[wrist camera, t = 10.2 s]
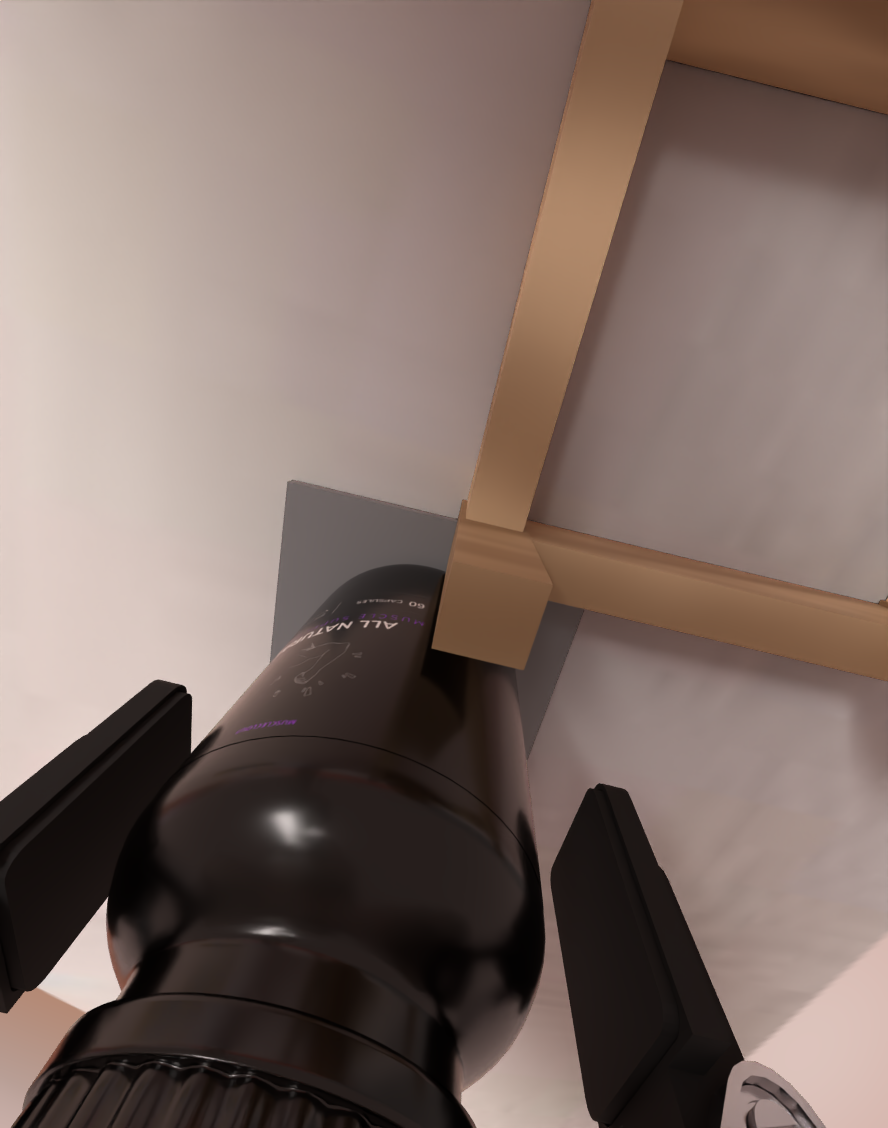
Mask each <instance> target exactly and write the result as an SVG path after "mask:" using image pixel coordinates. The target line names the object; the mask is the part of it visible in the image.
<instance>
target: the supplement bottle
mask: <svg viewBox="0 0 888 1128" xmlns="http://www.w3.org/2000/svg"><path fill="white" fill-rule="evenodd" d="M445 575H446V572H445V571H443V570H440V569H436V568H433V567H429V566H423V565H415V564H395V565H387V566H382V567H378V568H374V569H371V570H368V571H365V572H363V573H361V574H358V575H357V576H355V577H353V578H351V579H350V580H348V581H347V582H345V583H344V584H343V585H341V586H340V587H339V588H338V589H337V590H335V591H334V592H333V593H332V594H331V595H330V596H329V597H328V598H327V600H326V601H325V602H324V603H323V604H322V605H321V606H320V607H319V608H318V609H317V610H316V611H315V613H314V614H313V615H312V616H311V617H310V618H309V619H308V621H307V622H306V623H305V624H304V625H303V626H302V627H301V629H300V630H299V631H298V632H297V633H296V634H295V635H294V637H293V638H292V639H291V640H290V641H289V642H288V643H287V645H286V646H285V647H284V648H283V649H282V650H281V651H280V653H279V654H278V655H277V656H276V657H275V658H274V659H273V660H272V662H271V663H270V664H269V665H268V666H267V667H266V668H265V670H264V671H263V672H262V673H261V674H260V675H259V676H258V678H257V679H256V680H255V681H254V682H253V683H252V684H251V686H250V687H249V688H248V689H247V690H246V691H245V692H244V694H243V695H242V696H241V697H240V698H239V699H238V700H237V702H236V703H235V704H234V705H233V706H232V707H231V708H230V710H229V711H228V712H227V713H226V714H225V715H224V716H223V718H222V719H221V720H220V721H219V722H218V723H217V724H216V726H215V727H214V728H213V729H212V730H211V731H210V732H209V733H208V735H207V736H206V737H205V738H204V739H203V740H202V741H201V743H200V744H199V745H198V746H197V747H196V748H195V749H194V751H193V752H192V753H191V754H190V755H189V756H188V757H187V759H186V760H185V761H184V762H183V763H182V764H181V765H180V767H179V768H178V769H177V770H176V771H175V772H174V773H173V775H172V776H171V777H170V778H169V779H168V780H167V782H166V783H165V784H164V785H163V786H162V787H161V789H160V790H159V792H158V793H157V794H156V795H155V797H154V798H153V799H152V800H151V801H150V803H149V804H148V805H147V806H146V808H145V809H144V810H143V812H142V813H141V814H140V816H139V817H138V819H137V820H136V822H135V823H134V825H133V826H132V828H131V830H130V832H129V834H128V836H127V838H126V840H125V842H124V845H123V847H122V849H121V852H120V854H119V857H118V860H117V863H116V866H115V870H114V874H113V877H112V881H111V885H110V890H109V896H108V903H107V914H106V930H107V941H108V948H109V953H110V958H111V962H112V966H113V969H114V972H115V975H116V978H117V980H118V983H119V986H120V989H121V993H120V995H119V996H118V998H117V999H116V1000H115V1001H112V1002H109V1003H106V1004H103V1005H101V1006H98V1007H96V1008H94V1009H92V1010H91V1011H89V1012H87V1013H86V1014H84V1015H83V1016H82V1017H80V1018H79V1019H78V1020H77V1021H76V1022H75V1023H74V1024H73V1025H72V1026H71V1027H70V1029H69V1030H68V1032H67V1033H66V1035H65V1036H64V1038H63V1039H62V1040H61V1042H60V1043H59V1045H58V1046H57V1048H56V1049H55V1051H54V1052H53V1054H52V1055H51V1057H50V1058H49V1060H48V1061H47V1063H46V1064H45V1066H44V1067H43V1069H42V1070H41V1071H40V1073H39V1074H38V1076H37V1077H36V1079H35V1080H34V1082H33V1083H32V1085H31V1086H30V1088H29V1089H28V1091H27V1093H26V1096H25V1100H24V1104H23V1111H22V1113H21V1114H20V1115H19V1117H18V1118H17V1120H16V1121H15V1122H14V1124H13V1125H12V1127H11V1128H476V1126H475V1124H474V1122H473V1120H472V1119H471V1117H470V1115H469V1114H468V1112H467V1111H466V1110H465V1108H464V1107H463V1106H462V1105H461V1092H463V1091H464V1090H466V1089H467V1088H468V1087H470V1086H471V1085H473V1084H474V1083H475V1082H477V1081H478V1080H479V1079H481V1078H482V1077H483V1076H484V1075H485V1074H486V1073H487V1072H488V1071H490V1070H491V1069H492V1068H493V1067H494V1066H495V1065H496V1064H497V1063H498V1062H499V1061H500V1059H501V1058H502V1057H503V1056H504V1055H505V1053H506V1052H507V1051H508V1050H509V1048H510V1047H511V1045H512V1044H513V1042H514V1041H515V1039H516V1038H517V1036H518V1034H519V1033H520V1031H521V1029H522V1027H523V1025H524V1023H525V1021H526V1019H527V1017H528V1014H529V1012H530V1009H531V1006H532V1004H533V1001H534V999H535V996H536V993H537V989H538V986H539V982H540V977H541V973H542V968H543V963H544V953H545V925H544V914H543V899H542V890H541V880H540V872H539V863H538V855H537V846H536V838H535V829H534V821H533V813H532V804H531V796H530V787H529V779H528V771H527V762H526V754H525V745H524V737H523V729H522V720H521V712H520V703H519V695H518V687H517V678H516V670H515V668H512V667H508V666H503V665H499V664H495V663H491V662H486V661H482V660H478V659H474V658H470V657H465V656H461V655H457V654H453V653H448V652H444V651H440V650H436V649H432V643H433V638H434V632H435V627H436V622H437V617H438V611H439V606H440V601H441V596H442V590H443V585H444V580H445Z"/></svg>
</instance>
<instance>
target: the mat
mask: <svg viewBox="0 0 888 1128" xmlns="http://www.w3.org/2000/svg"><path fill="white" fill-rule="evenodd" d="M457 521H458V519H454V518H450V517H446V516H441V515H437V514H433V513H429V512H425V511H420V510H416V509H412V508H408V507H404V506H400V505H395V504H391V503H387V502H383V501H379V500H375V499H370V498H366V497H362V496H358V495H354V494H350V493H345V492H341V491H337V490H333V489H329V488H324V487H320V486H316V485H312V484H308V483H304V482H299V481H295V480H291V481H288V482H287V492H286V502H285V513H284V523H283V533H282V543H281V554H280V564H279V574H278V585H277V595H276V605H275V615H274V626H273V636H272V646H271V657H270V663H271V662H272V660H273V659H274V658H275V657H276V656H277V655H278V654H279V653H280V651H281V650H282V649H283V648H284V647H285V646H286V645H287V643H288V642H289V641H290V640H291V639H292V638H293V637H294V635H295V634H296V633H297V632H298V631H299V630H300V629H301V627H302V626H303V625H304V624H305V623H306V622H307V621H308V619H309V618H310V617H311V616H312V615H313V614H314V613H315V611H316V610H317V609H318V608H319V607H320V606H321V605H322V604H323V603H324V602H325V601H326V600H327V598H328V597H329V596H330V595H331V594H332V593H333V592H334V591H335V590H337V589H338V588H339V587H340V586H341V585H343V584H344V583H345V582H347V581H348V580H350V579H351V578H353V577H355V576H357V575H358V574H361V573H363V572H365V571H368V570H371V569H374V568H378V567H382V566H387V565H395V564H415V565H423V566H429V567H433V568H436V569H440V570H443V571H445V572H446V569H447V564H448V559H449V554H450V550H451V546H452V542H453V538H454V534H455V530H456V526H457ZM583 611H584V609H582V608H578V607H573V606H569V605H565V604H561V603H557V602H553V601H547V604H546V607H545V610H544V613H543V616H542V619H541V622H540V625H539V628H538V630H537V633H536V636H535V639H534V642H533V645H532V648H531V651H530V654H529V657H528V660H527V662H526V665H525V668H524V670H520V669H516V668H515V670H516V678H517V687H518V695H519V703H520V712H521V720H522V729H523V737H524V745H525V754H526V762H527V759H528V756H529V754H530V751H531V748H532V746H533V743H534V741H535V738H536V735H537V733H538V730H539V727H540V725H541V722H542V719H543V717H544V714H545V712H546V709H547V706H548V704H549V701H550V698H551V696H552V693H553V690H554V688H555V685H556V683H557V680H558V677H559V675H560V672H561V669H562V667H563V664H564V662H565V659H566V656H567V654H568V651H569V648H570V646H571V643H572V640H573V638H574V635H575V633H576V630H577V627H578V625H579V622H580V619H581V617H582V614H583Z"/></svg>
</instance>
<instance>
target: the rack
mask: <svg viewBox="0 0 888 1128" xmlns="http://www.w3.org/2000/svg"><path fill="white" fill-rule="evenodd" d="M666 59H667V60H671V61H675V62H679V63H683V64H687V65H691V66H695V67H699V68H703V69H707V70H711V71H715V72H719V73H723V74H727V75H731V76H735V77H739V78H743V79H747V80H751V81H755V82H759V83H763V84H767V85H771V86H775V87H779V88H784V89H788V90H792V91H796V92H800V93H804V94H808V95H812V96H816V97H820V98H824V99H828V100H832V101H836V102H840V103H844V104H848V105H852V106H856V107H860V108H864V109H868V110H872V111H876V112H880V113H884V114H888V0H592V1H591V5H590V9H589V13H588V17H587V21H586V25H585V29H584V33H583V37H582V41H581V45H580V49H579V53H578V57H577V61H576V65H575V69H574V73H573V77H572V81H571V85H570V89H569V93H568V97H567V101H566V105H565V109H564V113H563V117H562V121H561V125H560V130H559V134H558V138H557V142H556V146H555V150H554V154H553V158H552V162H551V166H550V170H549V174H548V178H547V182H546V186H545V190H544V194H543V198H542V202H541V206H540V210H539V214H538V218H537V222H536V226H535V230H534V234H533V238H532V242H531V246H530V250H529V254H528V258H527V262H526V266H525V271H524V275H523V279H522V283H521V287H520V291H519V295H518V299H517V303H516V307H515V311H514V315H513V319H512V323H511V327H510V331H509V335H508V339H507V343H506V347H505V351H504V355H503V359H502V363H501V367H500V371H499V375H498V379H497V383H496V387H495V391H494V395H493V399H492V403H491V407H490V411H489V416H488V420H487V424H486V428H485V432H484V436H483V440H482V444H481V448H480V452H479V456H478V460H477V464H476V468H475V472H474V476H473V480H472V484H471V488H470V492H469V496H468V500H462V504H461V508H460V513H459V517H458V521H457V526H456V530H455V534H454V538H453V542H452V546H451V550H450V554H449V559H448V564H447V569H446V575H445V580H444V585H443V590H442V596H441V601H440V606H439V611H438V617H437V622H436V627H435V632H434V638H433V643H432V649H436V650H440V651H444V652H448V653H453V654H457V655H461V656H465V657H470V658H474V659H478V660H482V661H486V662H491V663H495V664H499V665H503V666H508V667H512V668H516V669H520V670H524V668H525V665H526V662H527V660H528V657H529V654H530V651H531V648H532V645H533V642H534V639H535V636H536V633H537V630H538V628H539V625H540V622H541V619H542V616H543V613H544V610H545V607H546V604H547V601H553V602H557V603H561V604H565V605H569V606H573V607H578V608H582V609H586V610H590V611H594V612H599V613H603V614H607V615H611V616H615V617H620V618H624V619H628V620H632V621H636V622H641V623H645V624H649V625H653V626H657V627H662V628H666V629H670V630H674V631H678V632H683V633H687V634H691V635H695V636H699V637H704V638H708V639H712V640H716V641H720V642H724V643H729V644H733V645H737V646H741V647H745V648H750V649H754V650H758V651H762V652H766V653H771V654H775V655H779V656H783V657H787V658H792V659H796V660H800V661H804V662H808V663H813V664H817V665H821V666H825V667H829V668H834V669H838V670H842V671H846V672H850V673H855V674H859V675H863V676H867V677H871V678H876V679H880V680H884V681H888V598H887V600H886V601H883V600H881V601H880V602H879V604H875V603H871V602H867V601H863V600H859V599H855V598H850V597H846V596H842V595H838V594H834V593H830V592H825V591H821V590H817V589H813V588H809V587H805V586H800V585H796V584H792V583H788V582H784V581H780V580H775V579H771V578H767V577H763V576H759V575H755V574H750V573H746V572H742V571H738V570H734V569H730V568H725V567H721V566H717V565H713V564H709V563H705V562H700V561H696V560H692V559H688V558H684V557H680V556H675V555H671V554H667V553H663V552H659V551H655V550H650V549H646V548H642V547H638V546H634V545H630V544H625V543H621V542H617V541H613V540H609V539H605V538H600V537H596V536H592V535H588V534H584V533H579V532H575V531H571V530H567V529H563V528H559V527H554V526H550V525H546V524H542V523H538V522H534V521H529V520H527V517H528V514H529V511H530V507H531V504H532V501H533V497H534V494H535V491H536V487H537V484H538V481H539V478H540V474H541V471H542V468H543V464H544V461H545V458H546V454H547V451H548V448H549V444H550V441H551V438H552V435H553V431H554V428H555V425H556V421H557V418H558V415H559V411H560V408H561V405H562V401H563V398H564V395H565V392H566V388H567V385H568V382H569V378H570V375H571V372H572V368H573V365H574V362H575V358H576V355H577V352H578V349H579V345H580V342H581V339H582V335H583V332H584V329H585V325H586V322H587V319H588V315H589V312H590V309H591V306H592V302H593V299H594V296H595V292H596V289H597V286H598V282H599V279H600V276H601V272H602V269H603V266H604V263H605V259H606V256H607V253H608V249H609V246H610V243H611V239H612V236H613V233H614V229H615V226H616V223H617V220H618V216H619V213H620V210H621V206H622V203H623V200H624V196H625V193H626V190H627V186H628V183H629V180H630V177H631V173H632V170H633V167H634V163H635V160H636V157H637V153H638V150H639V147H640V143H641V140H642V137H643V134H644V130H645V127H646V124H647V120H648V117H649V114H650V110H651V107H652V104H653V100H654V97H655V94H656V91H657V87H658V84H659V81H660V77H661V74H662V71H663V67H664V64H665V61H666Z"/></svg>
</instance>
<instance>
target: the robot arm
mask: <svg viewBox="0 0 888 1128" xmlns="http://www.w3.org/2000/svg"><path fill="white" fill-rule="evenodd" d="M191 723H192V696H191V694H187V691H186V687H185V686H183V685H179V684H175V683H171V682H167V681H162V680H155V681H153V682H152V683H150V684H149V685H148V686H146V687H145V688H144V689H143V690H141V691H140V692H139V693H138V694H136V695H135V696H134V697H133V698H131V699H130V700H129V701H128V702H127V703H125V704H124V705H123V706H122V707H120V708H119V709H118V710H117V711H115V712H114V713H113V714H112V715H110V716H109V717H108V718H107V719H106V720H104V721H103V722H102V723H101V724H99V725H98V726H97V727H96V728H94V729H93V730H92V731H91V732H89V733H88V734H87V735H85V736H83V737H81V738H80V739H78V740H77V741H75V742H74V743H73V744H71V745H70V746H69V747H68V748H66V749H65V750H64V751H63V752H61V753H60V754H59V755H58V756H56V757H55V758H54V759H53V760H51V761H50V762H49V763H48V764H46V765H45V766H44V767H43V768H41V769H40V770H39V771H38V772H37V773H35V774H34V775H33V776H32V777H30V778H29V779H28V780H27V781H25V782H24V783H23V784H22V785H20V786H19V787H18V788H17V789H15V790H14V791H13V792H12V793H10V794H9V795H8V796H7V797H5V798H4V799H3V800H2V801H0V1012H2V1013H8V1012H9V1010H10V1009H11V1008H12V1007H13V1005H14V1004H15V1003H16V1001H17V1000H18V999H19V998H20V996H21V995H22V994H23V993H24V991H32V990H33V989H35V988H36V987H37V986H38V985H39V984H40V983H41V982H42V981H43V980H44V979H45V978H46V976H47V975H48V974H49V973H50V971H51V970H52V969H53V968H54V966H55V965H56V964H57V962H58V961H59V960H60V958H61V957H62V956H63V955H64V953H65V952H66V951H67V949H68V948H69V947H70V945H71V944H72V943H73V942H74V940H75V939H76V938H77V936H78V935H79V934H80V932H81V931H82V930H83V929H84V927H85V926H86V925H87V923H88V922H89V921H90V919H91V918H92V917H93V916H94V914H95V913H96V912H97V910H98V909H99V908H100V907H101V905H102V904H103V903H104V901H105V900H106V899H107V897H108V896H109V890H110V885H111V881H112V877H113V874H114V870H115V866H116V863H117V860H118V857H119V854H120V852H121V849H122V847H123V845H124V842H125V840H126V838H127V836H128V834H129V832H130V830H131V828H132V826H133V825H134V823H135V822H136V820H137V819H138V817H139V816H140V814H141V813H142V812H143V810H144V809H145V808H146V806H147V805H148V804H149V803H150V801H151V800H152V799H153V798H154V797H155V795H156V794H157V793H158V792H159V790H160V789H161V787H162V786H163V785H164V784H165V783H166V782H167V780H168V779H169V778H170V777H171V776H172V775H173V773H174V772H175V771H176V770H177V769H178V768H179V767H180V765H181V764H182V763H183V762H184V761H185V760H186V759H187V757H188V756H189V755H190V754H191ZM551 890H552V896H553V902H554V908H555V914H556V921H557V927H558V933H559V939H560V945H561V951H562V957H563V963H564V969H565V976H566V982H567V988H568V994H569V1000H570V1006H571V1012H572V1018H573V1025H574V1031H575V1037H576V1043H577V1049H578V1055H579V1061H580V1067H581V1073H582V1080H583V1086H584V1092H585V1098H586V1103H587V1108H588V1111H589V1114H590V1116H591V1118H592V1119H593V1120H594V1121H597V1122H598V1124H599V1128H826V1127H825V1126H824V1124H823V1123H822V1121H821V1120H820V1119H819V1118H818V1116H817V1115H816V1113H815V1112H814V1110H813V1109H812V1108H811V1106H810V1105H809V1103H808V1102H807V1101H806V1100H805V1099H804V1098H803V1097H802V1096H801V1095H800V1094H799V1093H798V1092H797V1090H796V1089H795V1088H794V1087H793V1086H792V1085H791V1084H790V1083H789V1082H787V1081H786V1080H785V1079H784V1078H782V1077H781V1076H780V1075H779V1074H777V1073H776V1072H775V1071H773V1070H772V1069H770V1068H768V1067H766V1066H764V1065H762V1064H760V1063H758V1062H755V1061H754V1062H753V1061H744V1058H743V1056H742V1053H741V1051H740V1049H739V1046H738V1044H737V1042H736V1039H735V1037H734V1034H733V1032H732V1030H731V1027H730V1025H729V1023H728V1020H727V1018H726V1015H725V1013H724V1011H723V1008H722V1006H721V1004H720V1001H719V999H718V996H717V994H716V992H715V989H714V987H713V985H712V982H711V980H710V978H709V975H708V973H707V970H706V968H705V966H704V963H703V961H702V959H701V956H700V954H699V951H698V949H697V947H696V944H695V942H694V940H693V937H692V935H691V932H690V930H689V928H688V925H687V923H686V921H685V918H684V916H683V913H682V911H681V909H680V906H679V904H678V902H677V899H676V897H675V894H674V892H673V890H672V887H671V885H670V883H669V880H668V878H667V876H666V875H665V873H664V871H663V870H662V869H661V868H660V867H659V866H658V863H657V861H656V858H655V856H654V853H653V851H652V849H651V846H650V844H649V841H648V839H647V836H646V834H645V832H644V829H643V827H642V824H641V822H640V820H639V817H638V815H637V812H636V810H635V807H634V805H633V803H632V800H631V798H630V795H629V794H628V792H627V791H626V790H625V789H622V788H618V787H613V786H609V785H605V784H600V783H599V784H597V785H596V787H595V788H594V789H591V788H590V789H588V790H587V792H586V794H585V796H584V799H583V801H582V803H581V805H580V807H579V809H578V812H577V814H576V816H575V818H574V820H573V823H572V825H571V827H570V829H569V831H568V833H567V836H566V838H565V840H564V842H563V844H562V847H561V849H560V851H559V853H558V855H557V857H556V860H555V862H554V864H553V866H552V870H551Z"/></svg>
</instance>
